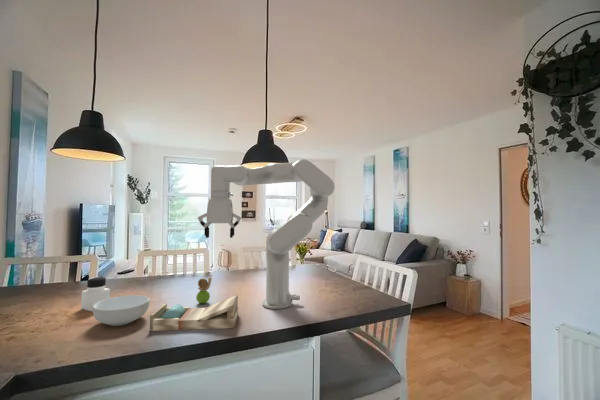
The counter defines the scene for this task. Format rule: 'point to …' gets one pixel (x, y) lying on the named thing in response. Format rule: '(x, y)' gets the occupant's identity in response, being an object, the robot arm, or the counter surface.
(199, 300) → the snail figurine
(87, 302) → the medicine bottle
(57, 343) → the counter surface
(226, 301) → the launch ramp
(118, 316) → the cereal bowl
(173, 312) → the roller
